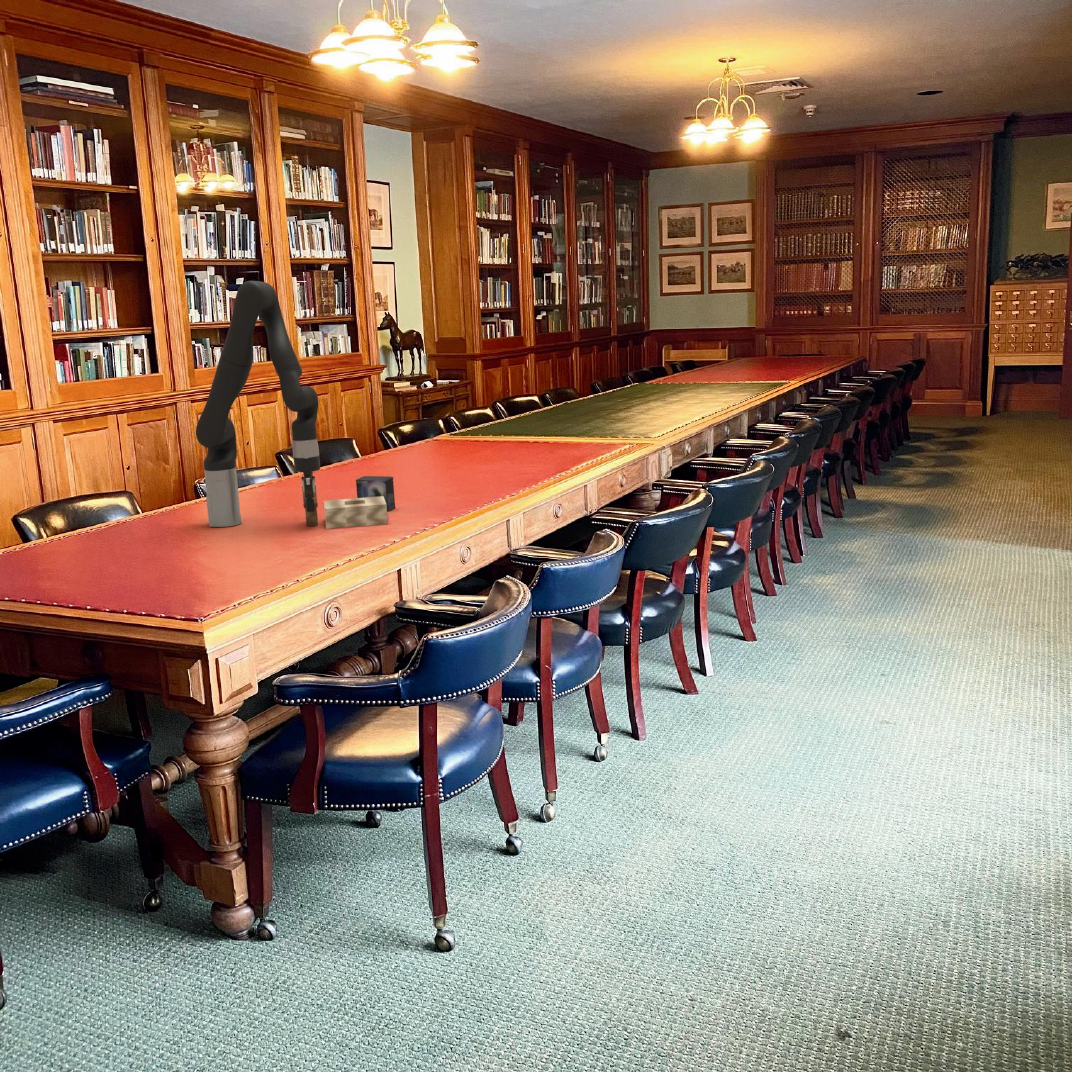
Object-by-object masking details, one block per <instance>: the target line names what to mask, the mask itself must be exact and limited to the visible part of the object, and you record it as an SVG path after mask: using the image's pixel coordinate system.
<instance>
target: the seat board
mask: <svg viewBox="0 0 1072 1072" xmlns="http://www.w3.org/2000/svg"><path fill="white" fill-rule="evenodd" d="M323 504H324V506H323V507H324V509H323V510H324V520H325V529H326V530H330V529H342V528H343V529H344V528H354V527H367V526H381V525H382V526H383V525H388V524H389V523H388V512H387V506H386V502H385V499H384V496H380V497H366V498H357V497H356V498H343V499H330V500H327V499H326V500H323Z"/></svg>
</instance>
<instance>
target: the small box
mask: <svg viewBox="0 0 1072 1072" xmlns="http://www.w3.org/2000/svg"><path fill="white" fill-rule="evenodd" d="M355 484H356V486H355V487H356V498H366V497H380V496H384V499H385V502H386V506H387V513H388V512H391V511H393V510H395V509H396V502H395V500H396V499H395V486H394V476H388V475H387V476H386V475H383V476H382V475H375V476H374V475H364V476H363V475H362V476H361V477H358V478H356V479H355Z"/></svg>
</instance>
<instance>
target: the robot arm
mask: <svg viewBox="0 0 1072 1072" xmlns="http://www.w3.org/2000/svg"><path fill="white" fill-rule="evenodd" d="M281 309H282V308H281V306H280V302H279V298H278V295H277V292H276V290H275V288H274V287H273V286H272V285H271V284H270V283H268V282H265V281H259V280H248V281H245V282H243V283H241V285H240V286H239V287H238V289H237V292H236V295H235V298H234V304H233V310H232V314H231V315H232V316H231V320H230V324H229V328H228V331H227V334H226V337H225V340H224V341H225V342H224V344H223V346H222V350H221V353H220V356H219V359H218V362H217V366H216V370H215V374H214V377H213V380H212V382H211V386H210V390H209V394H208V397H207V400H206V403H205V405H204V408H203V410H202V412H201V414H200V417H199V419H198V422H197V424H196V427H195V437H196V439H197V442H198V443H199V444H200V445H201V446H202V447H204V448H207V454H206V456H205V458H204V460H203V471H204V479H205V480H204V481H205V482H204V483H205V488H206V489H205V491H206V496H205V498H206V507H207V508H206V509H207V517H208V527H209V528H226V527H234V526H238V525H241V524H242V515H241V507H240V505H241V503H240V496H239V485H238V477H237V476H238V475H237V466H236V460H237V455H238V451H237V448H238V447H237V435H236V434H237V433H236V428H235V424H234V422H233V421H232V420H231V418H230V417H229V415H230V412H231V409H232V406H233V404H234V403H235V401H236V399H237V398H238V397H239V395H240V393H242V391H243V389H244V387H245V385H246V384H247V381H248V378H249V376H250V373H251V369H252V368H253V367H252V366H253V362H254V354H255V353H254V340H253V339H254V338H253V337H254V336H253V335H254V331H255V327H256V324H257V321H258V319H259V318H260V320H261V322H262V324H263V327H264V328H265V331H266V336H267V345H268V352H269V357H270V359H271V360H270V361H271V362H272V364H273V367H274V370H275V372H276V374H277V376H278V378H279V386H280V392H281V397H282V400H283V402H284V404H285V406H286V407H287V409H288V410H290V411H291V412H294V413H297V415H296V418H295V419H294V420H293V421H292V423H291V437H292V457H293V458H292V459H293V466H294V469H293V470H294V472H297V473H303V476H301V478H300V480H301V485H302V486H303V492H304V493H305V499H306V505H307V512H314V511H315V509H314V492H315V485H316V476H315V475H314V472H318V471H320V470H321V462H320V461H321V459H320V450H319V449H320V448H319V443H318V435H317V427H316V426H317V425H316V424H317V419H318V410H319V396H318V394H317V391H316V390H315V389H314V388H313V387H311V386H308V385H302V386H301V383H300V378H301V377H302V375H303V369H302V366H301V365H300V362H299V359H298V357H297V355H296V352H295V350H294V348H293V345H292V343H291V340H290V337H289V334H288V331H287V327H286V324H285V322H284V321H285V320H284V316H283V314H282V310H281ZM303 492H302V493H303ZM309 492H311V493H312V494H307V493H309Z"/></svg>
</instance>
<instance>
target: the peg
mask: <svg viewBox="0 0 1072 1072" xmlns="http://www.w3.org/2000/svg"><path fill="white" fill-rule="evenodd" d="M301 488H302V500H303V501H302V502H303V505H302V506H303V509H304V511H305V524H306V527H309V528H313V527H317V526H319V520H318V519H319V518H318V509H317V508H318V506H319V504H318V496H317V495H318V494H317V485H316V484H315V492H314V509H315V511H314V512H307V505H306V499H305V493H304V492H303V485H302V486H301ZM307 494H312V493H311V492H309V493H307Z"/></svg>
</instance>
